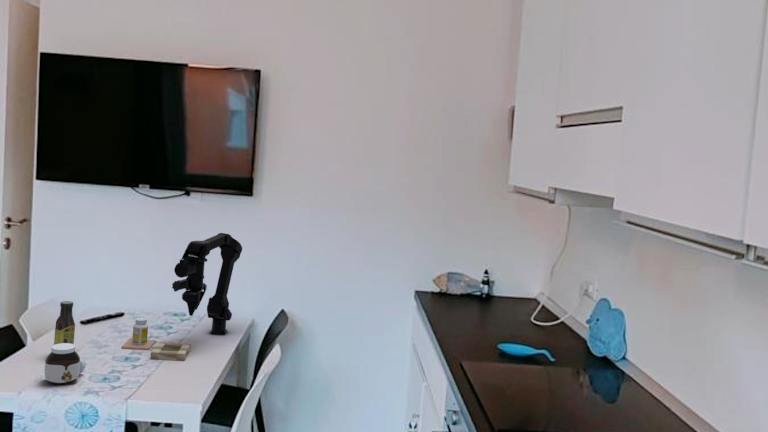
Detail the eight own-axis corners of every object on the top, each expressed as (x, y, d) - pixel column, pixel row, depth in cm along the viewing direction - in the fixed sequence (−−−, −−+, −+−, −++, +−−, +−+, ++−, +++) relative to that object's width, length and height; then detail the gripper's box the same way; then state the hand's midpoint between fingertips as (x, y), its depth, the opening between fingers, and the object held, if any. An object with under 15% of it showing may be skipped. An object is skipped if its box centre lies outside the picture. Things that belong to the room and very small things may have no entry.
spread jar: (43, 387, 195) (45, 351, 194) (44, 374, 205) (46, 339, 204) (86, 384, 201) (88, 349, 200) (84, 371, 211) (86, 338, 210)
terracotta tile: (129, 340, 246) (129, 338, 246) (155, 342, 247) (155, 340, 247) (121, 348, 236) (121, 346, 236) (149, 350, 237) (149, 348, 237)
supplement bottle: (132, 345, 238) (133, 320, 237) (132, 341, 243) (133, 316, 242) (147, 345, 240) (148, 320, 239) (147, 340, 245) (148, 316, 244)
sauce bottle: (64, 361, 218) (67, 305, 216) (49, 358, 219) (51, 303, 217) (77, 355, 224) (80, 301, 222) (62, 353, 226) (64, 299, 224)
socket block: (158, 348, 240) (158, 342, 240) (190, 350, 242) (190, 344, 241) (150, 359, 228) (150, 352, 228) (184, 360, 230) (184, 354, 230)
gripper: (180, 267, 254) (177, 305, 255) (169, 276, 235) (166, 317, 237) (208, 269, 255) (205, 307, 257) (199, 279, 237) (196, 319, 238)
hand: (193, 312), depth 247 cm, fingers open, 9 cm apart
